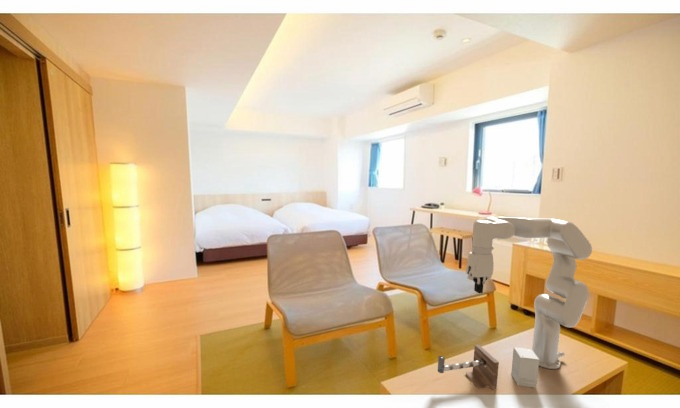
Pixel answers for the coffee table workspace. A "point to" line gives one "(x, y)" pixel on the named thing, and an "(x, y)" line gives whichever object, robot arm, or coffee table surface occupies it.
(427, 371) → the coffee table surface
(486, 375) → the bracket
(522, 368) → the supplement box
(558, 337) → the robot arm
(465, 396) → the coffee table surface
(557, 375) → the coffee table surface
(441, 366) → the shaft
